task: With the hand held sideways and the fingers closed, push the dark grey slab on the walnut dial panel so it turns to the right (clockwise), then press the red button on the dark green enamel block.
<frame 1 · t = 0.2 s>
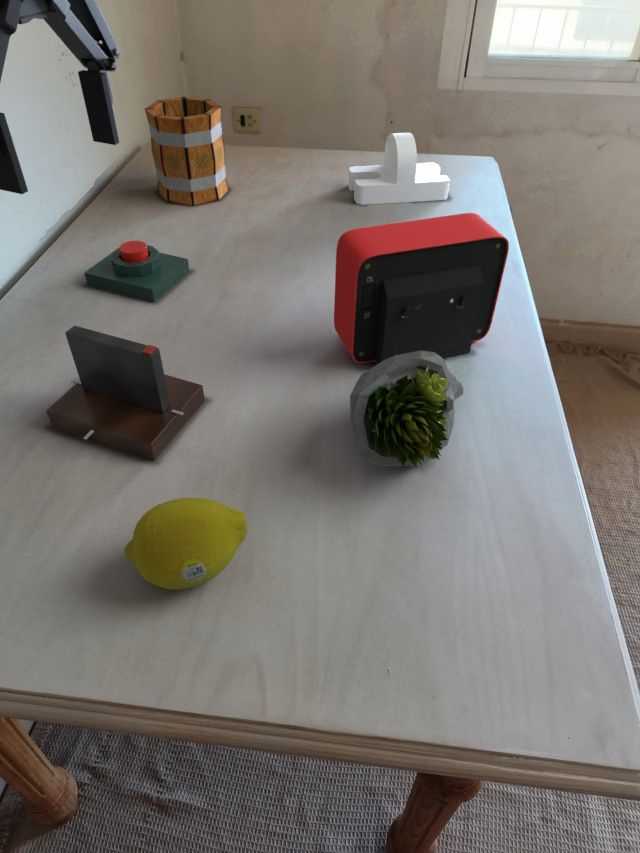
hand: (63, 164, 61), 27 cm above the table, tool pointing down, fingers open, 13 cm apart
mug: (194, 185, 124), on the table
dark grey slab: (118, 369, 70), point 7 cm above the table, hinge at 0.0°
alarm clock: (412, 345, 86), on the table
button block: (139, 278, 97), on the table
lemon: (192, 569, 59), on the table
potted plant: (406, 450, 71), on the table
dial panel: (130, 413, 74), on the table
button: (134, 252, 94), point 4 cm above the table, slide at 0.1 cm
white caddy with handle: (396, 193, 123), on the table
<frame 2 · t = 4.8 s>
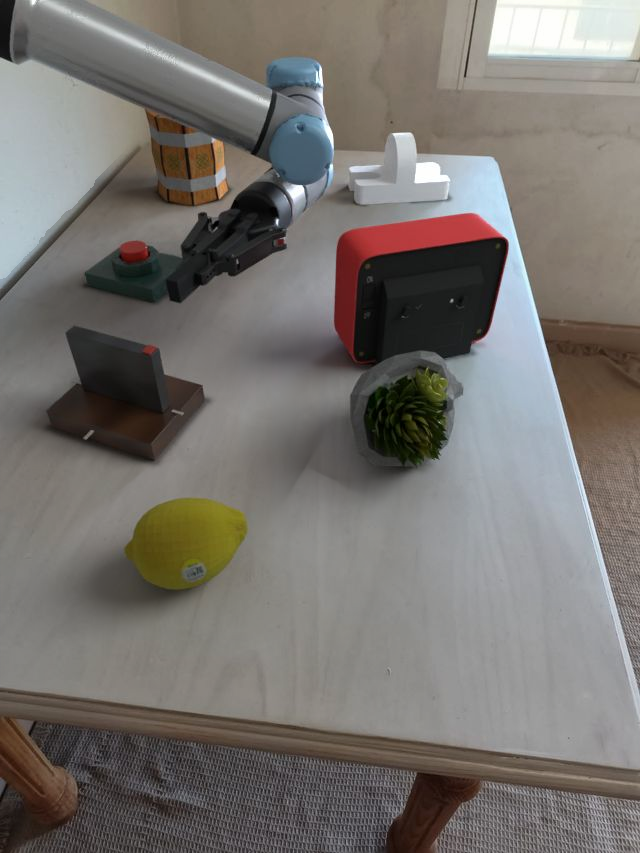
hand: (173, 291, 70), 13 cm above the table, tool horizontal, fingers closed
nothing on the table moved.
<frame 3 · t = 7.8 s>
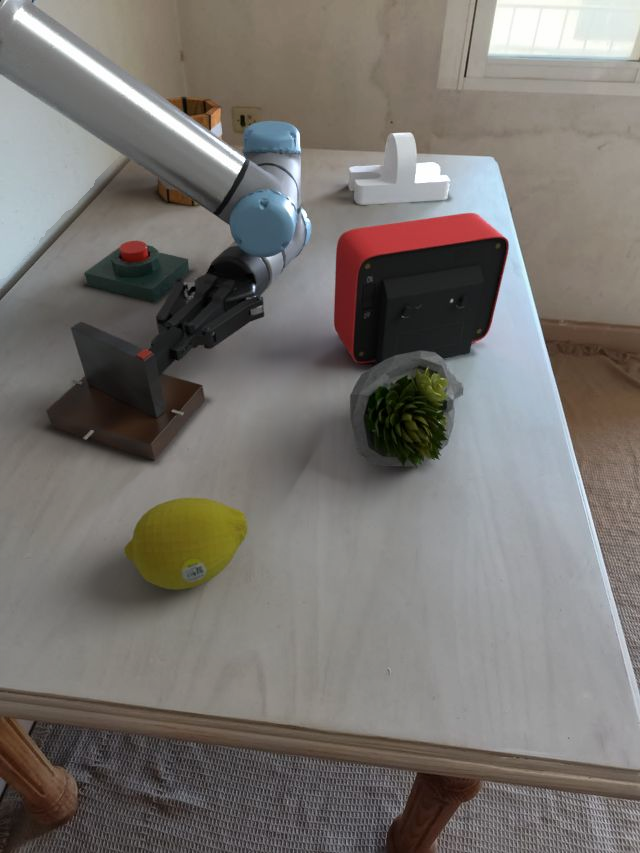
hand: (147, 368, 69), 7 cm above the table, tool horizontal, fingers closed
dark grey slab: (118, 369, 70), point 7 cm above the table, hinge at -10.3°, touching gripper
everything else where it was.
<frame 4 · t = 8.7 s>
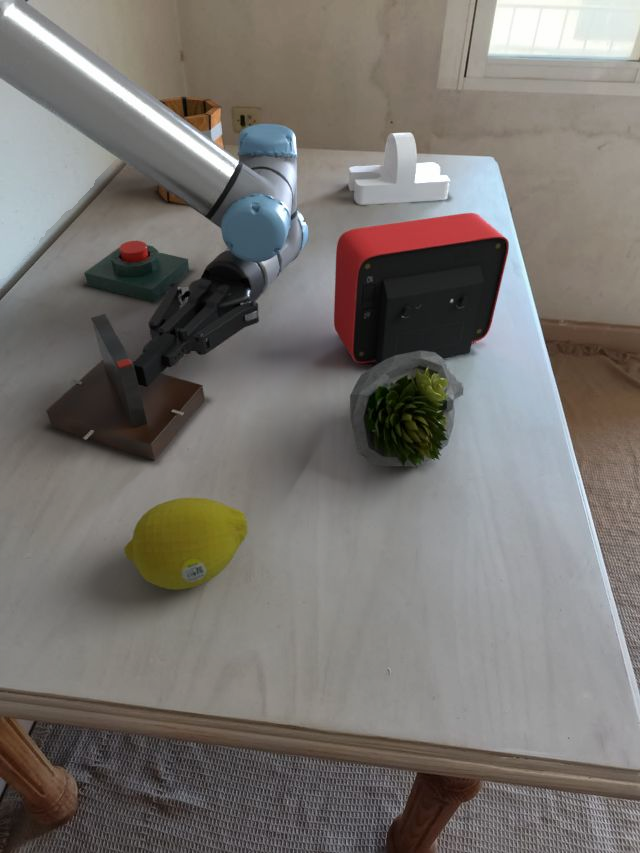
hand: (139, 375, 68), 7 cm above the table, tool horizontal, fingers closed
dark grey slab: (118, 369, 70), point 7 cm above the table, hinge at -38.6°, touching gripper
everything else where it was.
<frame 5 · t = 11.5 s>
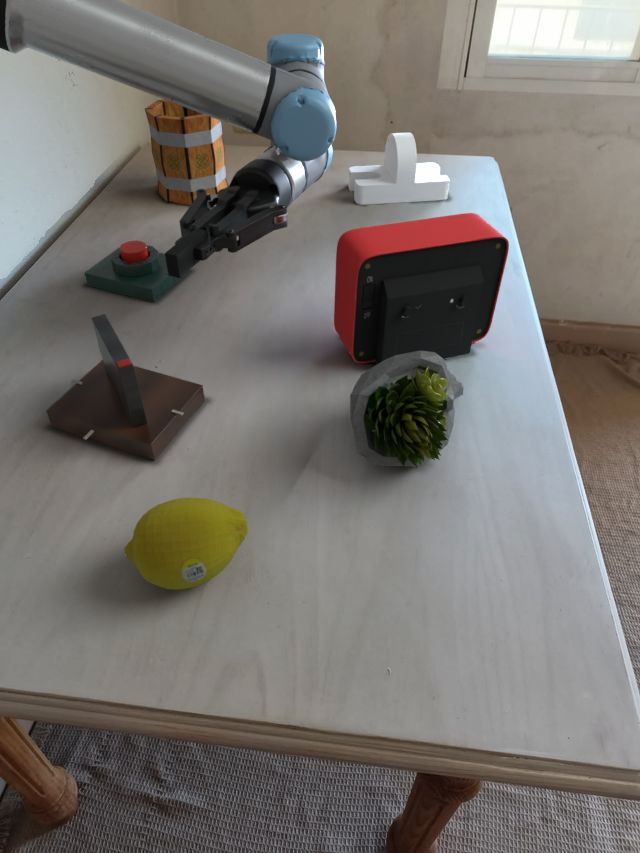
hand: (172, 265, 68), 16 cm above the table, tool horizontal, fingers closed
dark grey slab: (118, 369, 70), point 7 cm above the table, hinge at -38.6°
everything else where it was.
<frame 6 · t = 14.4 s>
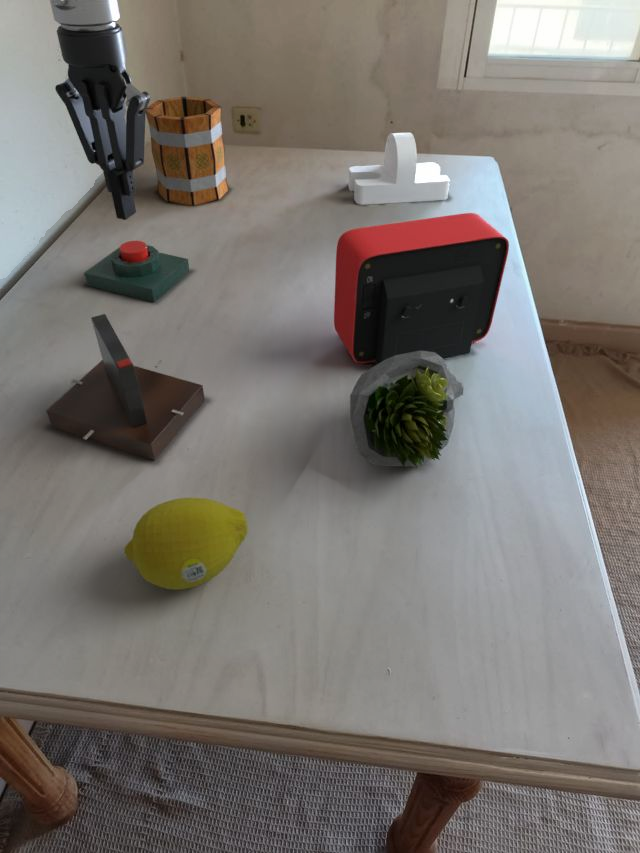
hand: (126, 215, 90), 10 cm above the table, tool pointing down, fingers closed
nothing on the table moved.
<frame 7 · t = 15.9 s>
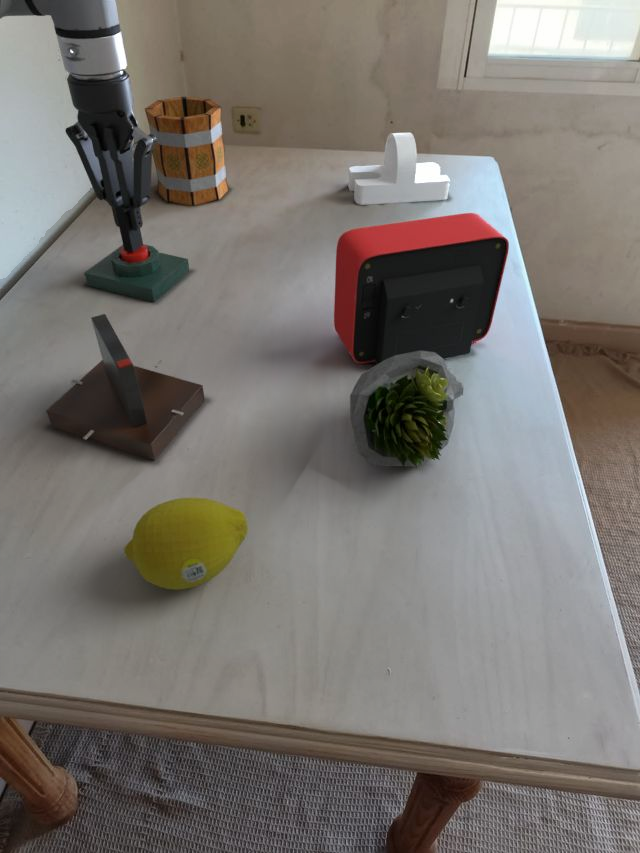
hand: (133, 247, 94), 5 cm above the table, tool pointing down, fingers closed
button: (134, 254, 95), point 4 cm above the table, slide at -0.4 cm, touching gripper
everything else where it was.
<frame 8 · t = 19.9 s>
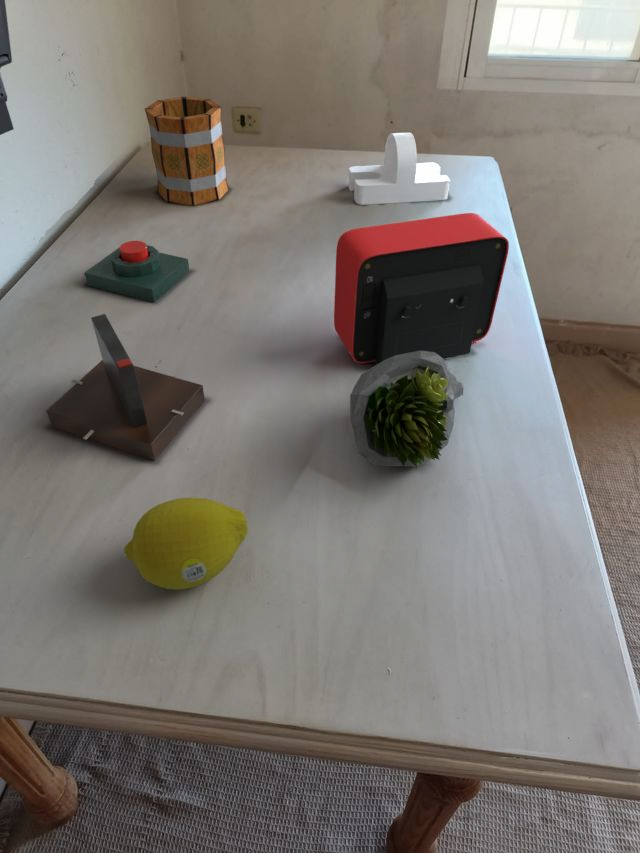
hand: (0, 131, 74), 24 cm above the table, tool pointing down, fingers closed
button: (134, 252, 94), point 4 cm above the table, slide at 0.1 cm
everything else where it was.
at the end: dark grey slab at -39° (first picture: +0°); button pushed in 1.0 cm at the most during the clip, back to where it started at the end; button slide at 0.1 cm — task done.
